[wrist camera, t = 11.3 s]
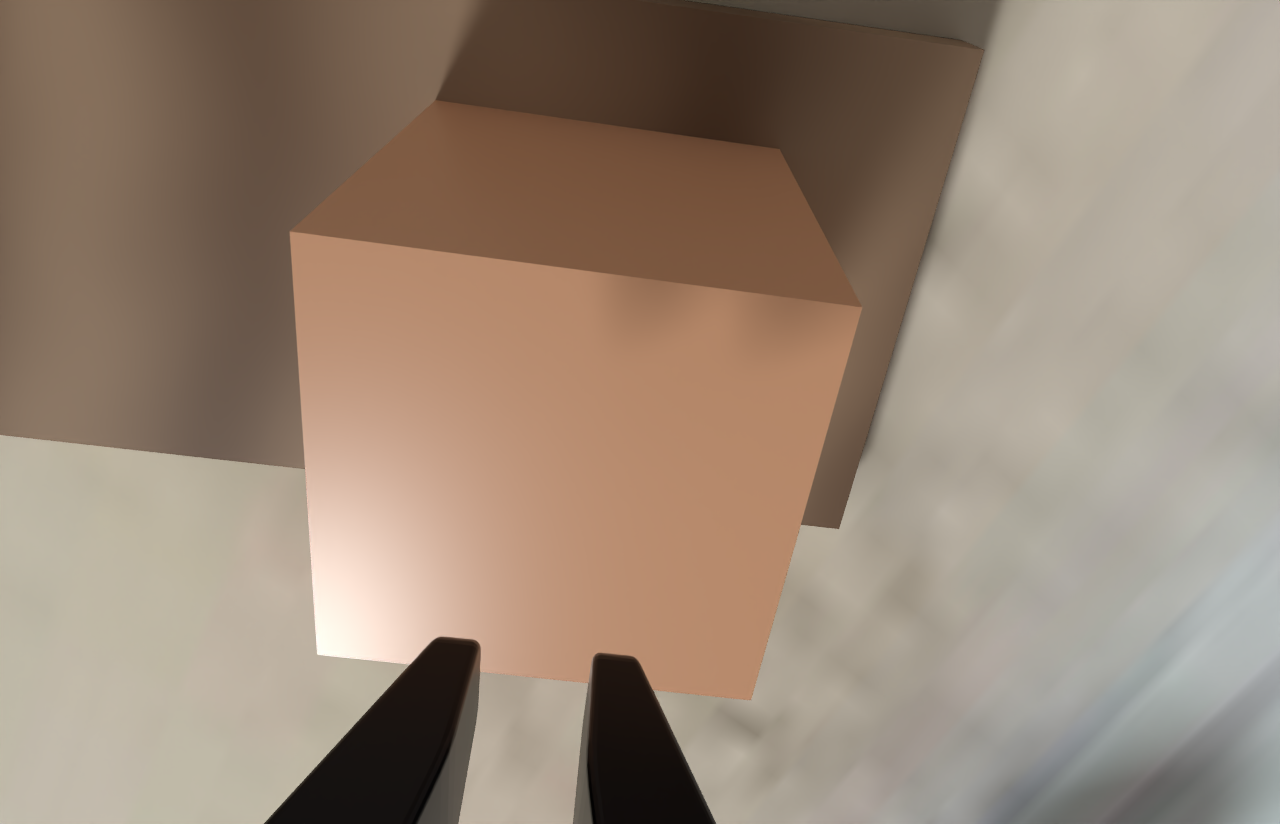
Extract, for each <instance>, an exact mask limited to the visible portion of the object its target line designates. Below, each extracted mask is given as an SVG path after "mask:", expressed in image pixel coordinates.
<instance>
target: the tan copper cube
mask: <svg viewBox="0 0 1280 824" xmlns="http://www.w3.org/2000/svg"><path fill="white" fill-rule="evenodd" d="M290 245H291V260H292V276H293V291H294V306H295V322H296V337H297V352H298V368H299V383H300V398H301V414H302V429H303V444H304V460H305V475H306V490H307V505H308V521H309V536H310V551H311V567H312V582H313V597H314V613H315V628H316V643H317V655H327V656H336V657H345V658H355V659H364V660H374V661H383V662H393V663H402V664H411V663H412V662H413V661H414V660H415V659H416V657H417V656H418V655H419V654H420V653H421V652H422V651H423V650H424V649H425V648H426V647H427V646H428V644H429V643H430V642H431V641H432V640H434V639H435V638H437V637H440V636H444V637H454V638H464V639H473V640H476V641H477V642H478V643H479V644H480V646H481V661H480V672H487V673H497V674H506V675H516V676H525V677H535V678H544V679H554V680H563V681H573V682H582V683H589V675H590V668H591V662H592V658H593V657H594V655H595V654H597V653H610V654H619V655H629V656H633V657H635V658H636V659H637V660H638V661H639V663H640V664H641V666H642V668H643V670H644V672H645V675H646V677H647V679H648V681H649V683H650V685H651V687H652V689H653V690H658V691H667V692H677V693H686V694H696V695H705V696H715V697H724V698H734V699H743V700H751V698H752V695H753V691H754V688H755V684H756V680H757V677H758V673H759V670H760V666H761V663H762V659H763V656H764V652H765V649H766V645H767V642H768V638H769V635H770V631H771V628H772V624H773V621H774V617H775V614H776V610H777V607H778V603H779V599H780V596H781V592H782V589H783V585H784V582H785V578H786V575H787V571H788V568H789V564H790V561H791V557H792V554H793V550H794V547H795V543H796V540H797V536H798V533H799V529H800V526H801V522H802V518H803V515H804V511H805V508H806V504H807V501H808V497H809V494H810V490H811V487H812V483H813V480H814V476H815V473H816V469H817V466H818V462H819V459H820V455H821V452H822V448H823V445H824V441H825V438H826V434H827V430H828V427H829V423H830V420H831V416H832V413H833V409H834V406H835V402H836V399H837V395H838V392H839V388H840V385H841V381H842V378H843V374H844V371H845V367H846V364H847V360H848V357H849V353H850V349H851V346H852V342H853V339H854V335H855V332H856V328H857V325H858V321H859V318H860V314H861V311H862V306H861V304H860V302H859V300H858V298H857V296H856V294H855V292H854V290H853V288H852V287H851V285H850V283H849V281H848V279H847V277H846V275H845V273H844V271H843V269H842V267H841V266H840V264H839V262H838V260H837V258H836V256H835V254H834V252H833V250H832V248H831V246H830V245H829V243H828V241H827V239H826V237H825V235H824V233H823V231H822V229H821V227H820V225H819V224H818V222H817V220H816V218H815V216H814V214H813V212H812V210H811V208H810V206H809V204H808V203H807V201H806V199H805V197H804V195H803V193H802V191H801V189H800V187H799V185H798V183H797V182H796V180H795V178H794V176H793V174H792V172H791V170H790V168H789V166H788V164H787V162H786V161H785V159H784V157H783V155H782V153H781V151H780V149H775V148H768V147H761V146H754V145H747V144H740V143H733V142H726V141H719V140H712V139H705V138H698V137H691V136H684V135H677V134H670V133H663V132H656V131H649V130H642V129H635V128H628V127H621V126H614V125H607V124H600V123H593V122H586V121H579V120H572V119H565V118H558V117H551V116H544V115H537V114H530V113H523V112H516V111H509V110H501V109H494V108H487V107H480V106H473V105H466V104H459V103H452V102H445V101H438V100H435V101H434V102H433V103H432V104H431V105H430V106H428V107H427V108H426V109H425V110H424V111H423V112H422V113H421V114H420V115H418V116H417V117H416V118H415V119H414V120H413V121H412V122H411V123H410V124H408V125H407V126H406V127H405V128H404V129H403V130H402V131H401V132H400V133H398V134H397V135H396V136H395V137H394V138H393V139H392V140H391V141H390V142H388V143H387V144H386V145H385V146H384V147H383V148H382V149H381V150H380V151H378V152H377V153H376V154H375V155H374V156H373V157H372V158H371V159H370V160H368V161H367V162H366V163H365V164H364V165H363V166H362V167H361V168H360V169H358V170H357V171H356V172H355V173H354V174H353V175H352V176H351V177H350V178H348V179H347V180H346V181H345V182H344V183H343V184H342V185H341V186H340V187H338V188H337V189H336V190H335V191H334V192H333V193H332V194H331V195H330V196H328V197H327V198H326V199H325V200H324V201H323V202H322V203H321V204H320V205H318V206H317V207H316V208H315V209H314V210H313V211H312V212H311V213H310V214H308V215H307V216H306V217H305V218H304V219H303V220H302V221H301V222H300V223H298V224H297V225H296V226H295V227H294V228H293V229H292V230H291V231H290Z"/></svg>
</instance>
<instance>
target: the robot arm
mask: <svg viewBox="0 0 1280 824" xmlns="http://www.w3.org/2000/svg"><path fill="white" fill-rule="evenodd" d="M480 661H481V646H480V644H479V643H478V642H477V641H476V640H473V639H464V638H454V637H444V636H440V637H437V638H435V639H434V640H432V641H431V642H430V643H429V644H428V646H427V647H426V648H425V649H424V650H423V651H422V652H421V653H420V654H419V655H418V656H417V657H416V659H415V660H414V661H413V662H412V663H411V664H410V665H409V666H408V667H407V668H406V669H405V671H404V672H403V673H402V674H401V675H400V676H399V677H398V678H397V679H396V680H395V681H394V683H393V684H392V685H391V686H390V687H389V688H388V689H387V690H386V691H385V692H384V693H383V695H382V696H381V697H380V698H379V699H378V700H377V701H376V702H375V703H374V704H373V705H372V706H371V708H370V709H369V710H368V711H367V712H366V713H365V714H364V715H363V716H362V717H361V718H360V720H359V721H358V722H357V723H356V724H355V725H354V726H353V727H352V728H351V729H350V730H349V732H348V733H347V734H346V735H345V736H344V737H343V738H342V739H341V740H340V741H339V742H338V744H337V745H336V746H335V747H334V748H333V749H332V750H331V751H330V752H329V753H328V754H327V755H326V757H325V758H324V759H323V760H322V761H321V762H320V763H319V764H318V765H317V766H316V767H315V769H314V770H313V771H312V772H311V773H310V774H309V775H308V776H307V777H306V778H305V779H304V781H303V782H302V783H301V784H300V785H299V786H298V787H297V788H296V789H295V790H294V791H293V793H292V794H291V795H290V796H289V797H288V798H287V799H286V800H285V801H284V802H283V803H282V804H281V806H280V807H279V808H278V809H277V810H276V811H275V812H274V813H273V814H272V815H271V816H270V818H269V819H268V820H267V821H266V822H265V823H264V824H458V822H459V816H460V810H461V805H462V799H463V793H464V788H465V782H466V776H467V771H468V765H469V760H470V754H471V748H472V743H473V737H474V731H475V725H476V719H477V711H478V699H479V680H480ZM573 824H716V822H715V820H714V818H713V816H712V814H711V812H710V810H709V807H708V805H707V803H706V801H705V799H704V797H703V795H702V793H701V791H700V788H699V786H698V784H697V782H696V780H695V778H694V776H693V774H692V772H691V769H690V767H689V765H688V763H687V761H686V759H685V757H684V755H683V753H682V750H681V748H680V746H679V744H678V742H677V740H676V738H675V736H674V734H673V732H672V729H671V727H670V725H669V723H668V721H667V719H666V717H665V715H664V713H663V710H662V708H661V706H660V704H659V702H658V700H657V698H656V696H655V694H654V691H653V689H652V687H651V685H650V683H649V681H648V679H647V677H646V675H645V672H644V670H643V668H642V666H641V664H640V663H639V661H638V660H637V659H636V658H635V657H633V656H629V655H619V654H610V653H597V654H595V655H594V657H593V658H592V662H591V668H590V675H589V683H588V690H587V697H586V704H585V711H584V719H583V728H582V737H581V747H580V757H579V767H578V778H577V788H576V798H575V808H574V818H573Z"/></svg>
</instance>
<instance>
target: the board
mask: <svg viewBox="0 0 1280 824" xmlns="http://www.w3.org/2000/svg"><path fill="white" fill-rule="evenodd" d="M983 53H984V50H983V49H981V48H978V47H976V46H974V45H971V44H969V43H967V42H965V41H962V40H956V39H949V38H942V37H935V36H928V35H921V34H914V33H907V32H900V31H893V30H886V29H879V28H872V27H865V26H858V25H851V24H844V23H837V22H831V21H824V20H817V19H810V18H803V17H796V16H789V15H782V14H775V13H768V12H761V11H754V10H747V9H740V8H733V7H726V6H719V5H712V4H706V3H699V2H692V1H685V0H0V435H6V436H15V437H24V438H33V439H42V440H51V441H60V442H69V443H78V444H87V445H96V446H104V447H113V448H122V449H131V450H140V451H149V452H158V453H167V454H176V455H185V456H194V457H203V458H211V459H220V460H229V461H238V462H247V463H256V464H265V465H274V466H283V467H292V468H301V469H305V460H304V444H303V429H302V414H301V398H300V383H299V368H298V352H297V337H296V322H295V306H294V291H293V276H292V260H291V245H290V231H291V230H292V229H293V228H294V227H295V226H296V225H297V224H298V223H300V222H301V221H302V220H303V219H304V218H305V217H306V216H307V215H308V214H310V213H311V212H312V211H313V210H314V209H315V208H316V207H317V206H318V205H320V204H321V203H322V202H323V201H324V200H325V199H326V198H327V197H328V196H330V195H331V194H332V193H333V192H334V191H335V190H336V189H337V188H338V187H340V186H341V185H342V184H343V183H344V182H345V181H346V180H347V179H348V178H350V177H351V176H352V175H353V174H354V173H355V172H356V171H357V170H358V169H360V168H361V167H362V166H363V165H364V164H365V163H366V162H367V161H368V160H370V159H371V158H372V157H373V156H374V155H375V154H376V153H377V152H378V151H380V150H381V149H382V148H383V147H384V146H385V145H386V144H387V143H388V142H390V141H391V140H392V139H393V138H394V137H395V136H396V135H397V134H398V133H400V132H401V131H402V130H403V129H404V128H405V127H406V126H407V125H408V124H410V123H411V122H412V121H413V120H414V119H415V118H416V117H417V116H418V115H420V114H421V113H422V112H423V111H424V110H425V109H426V108H427V107H428V106H430V105H431V104H432V103H433V102H434V101H435V100H438V101H445V102H452V103H459V104H466V105H473V106H480V107H487V108H494V109H501V110H509V111H516V112H523V113H530V114H537V115H544V116H551V117H558V118H565V119H572V120H579V121H586V122H593V123H600V124H607V125H614V126H621V127H628V128H635V129H642V130H649V131H656V132H663V133H670V134H677V135H684V136H691V137H698V138H705V139H712V140H719V141H726V142H733V143H740V144H747V145H754V146H761V147H768V148H775V149H780V151H781V153H782V155H783V157H784V159H785V161H786V162H787V164H788V166H789V168H790V170H791V172H792V174H793V176H794V178H795V180H796V182H797V183H798V185H799V187H800V189H801V191H802V193H803V195H804V197H805V199H806V201H807V203H808V204H809V206H810V208H811V210H812V212H813V214H814V216H815V218H816V220H817V222H818V224H819V225H820V227H821V229H822V231H823V233H824V235H825V237H826V239H827V241H828V243H829V245H830V246H831V248H832V250H833V252H834V254H835V256H836V258H837V260H838V262H839V264H840V266H841V267H842V269H843V271H844V273H845V275H846V277H847V279H848V281H849V283H850V285H851V287H852V288H853V290H854V292H855V294H856V296H857V298H858V300H859V302H860V304H861V306H862V311H861V314H860V318H859V321H858V325H857V328H856V332H855V335H854V339H853V342H852V346H851V349H850V353H849V357H848V360H847V364H846V367H845V371H844V374H843V378H842V381H841V385H840V388H839V392H838V395H837V399H836V402H835V406H834V409H833V413H832V416H831V420H830V423H829V427H828V430H827V434H826V438H825V441H824V445H823V448H822V452H821V455H820V459H819V462H818V466H817V469H816V473H815V476H814V480H813V483H812V487H811V490H810V494H809V497H808V501H807V504H806V508H805V511H804V515H803V518H802V522H801V525H809V526H818V527H826V528H835V529H839V527H840V524H841V520H842V517H843V514H844V511H845V507H846V504H847V501H848V497H849V494H850V491H851V488H852V484H853V481H854V478H855V474H856V471H857V468H858V464H859V461H860V458H861V455H862V451H863V448H864V445H865V441H866V438H867V435H868V432H869V428H870V425H871V422H872V418H873V415H874V412H875V408H876V405H877V402H878V399H879V395H880V392H881V389H882V385H883V382H884V379H885V376H886V372H887V369H888V366H889V362H890V359H891V356H892V352H893V349H894V346H895V343H896V339H897V336H898V333H899V329H900V326H901V323H902V320H903V316H904V313H905V310H906V306H907V303H908V300H909V297H910V293H911V290H912V287H913V283H914V280H915V277H916V273H917V270H918V267H919V264H920V260H921V257H922V254H923V250H924V247H925V244H926V241H927V237H928V234H929V231H930V227H931V224H932V221H933V217H934V214H935V211H936V208H937V204H938V201H939V198H940V194H941V191H942V188H943V185H944V181H945V178H946V175H947V171H948V168H949V165H950V161H951V158H952V155H953V152H954V148H955V145H956V142H957V138H958V135H959V132H960V129H961V125H962V122H963V119H964V115H965V112H966V109H967V105H968V102H969V99H970V96H971V92H972V89H973V86H974V82H975V79H976V76H977V73H978V69H979V66H980V63H981V59H982V56H983Z"/></svg>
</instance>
